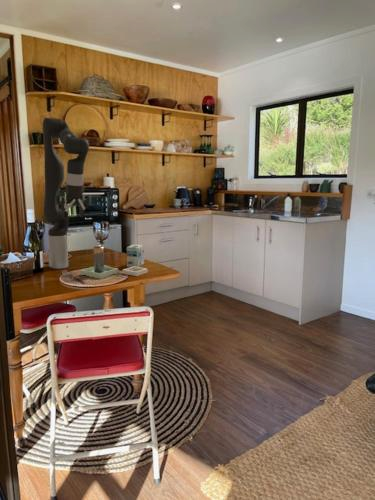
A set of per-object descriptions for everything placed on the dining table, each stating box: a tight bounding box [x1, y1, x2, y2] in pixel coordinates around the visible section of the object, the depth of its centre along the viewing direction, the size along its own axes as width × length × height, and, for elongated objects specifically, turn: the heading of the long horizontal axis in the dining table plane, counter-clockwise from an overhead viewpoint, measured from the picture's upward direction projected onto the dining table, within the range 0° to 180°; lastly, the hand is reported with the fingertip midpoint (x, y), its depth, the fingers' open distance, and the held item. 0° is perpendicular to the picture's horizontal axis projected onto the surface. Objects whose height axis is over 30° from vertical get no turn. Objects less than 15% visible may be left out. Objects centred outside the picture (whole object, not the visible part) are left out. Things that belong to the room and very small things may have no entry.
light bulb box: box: [126, 243, 145, 268], centre depth 207 cm, size 11×7×11 cm, turn 168°
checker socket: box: [122, 266, 149, 277], centre depth 190 cm, size 9×9×2 cm
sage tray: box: [79, 265, 119, 280], centre depth 187 cm, size 13×13×2 cm
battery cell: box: [93, 244, 105, 273], centre depth 186 cm, size 5×5×14 cm
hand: (73, 218), depth 174 cm, fingers open, 8 cm apart
